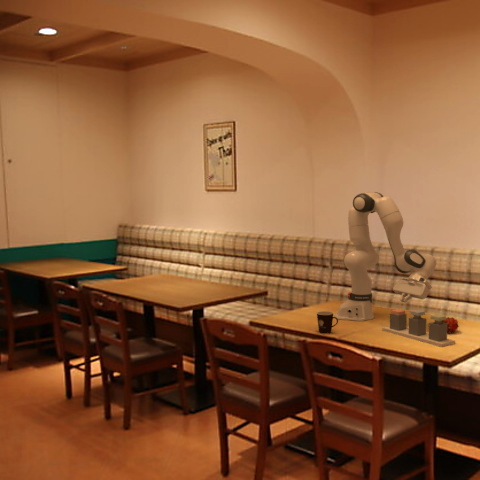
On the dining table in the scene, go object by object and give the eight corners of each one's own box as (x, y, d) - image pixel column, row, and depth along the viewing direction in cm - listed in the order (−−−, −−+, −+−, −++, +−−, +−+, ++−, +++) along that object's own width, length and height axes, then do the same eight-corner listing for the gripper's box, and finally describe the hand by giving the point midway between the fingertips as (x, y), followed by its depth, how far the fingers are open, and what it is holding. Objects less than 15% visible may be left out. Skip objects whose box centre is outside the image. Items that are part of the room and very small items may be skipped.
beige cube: (410, 320, 310) (410, 311, 310) (416, 318, 313) (417, 309, 312) (417, 321, 306) (418, 312, 305) (424, 320, 309) (424, 311, 308)
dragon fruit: (440, 336, 315) (454, 336, 322) (452, 329, 310) (466, 329, 317) (433, 321, 319) (447, 321, 326) (445, 314, 314) (459, 314, 321)
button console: (382, 330, 324) (382, 312, 322) (395, 327, 329) (395, 310, 328) (441, 347, 292) (441, 327, 291) (455, 343, 297) (455, 324, 296)
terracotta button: (391, 319, 321) (391, 310, 320) (397, 317, 324) (397, 309, 323) (398, 321, 317) (398, 312, 316) (405, 319, 320) (405, 310, 319)
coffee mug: (313, 330, 326) (313, 312, 324) (328, 329, 329) (328, 310, 328) (324, 336, 315) (324, 316, 314) (339, 334, 318) (339, 315, 317)
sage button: (430, 325, 300) (430, 315, 299) (437, 323, 302) (437, 314, 302) (438, 327, 295) (439, 317, 295) (445, 325, 298) (445, 316, 298)
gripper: (398, 274, 333) (385, 294, 329) (428, 280, 316) (415, 301, 312) (404, 281, 336) (391, 301, 332) (434, 288, 319) (420, 309, 315)
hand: (402, 301), depth 322 cm, fingers closed
